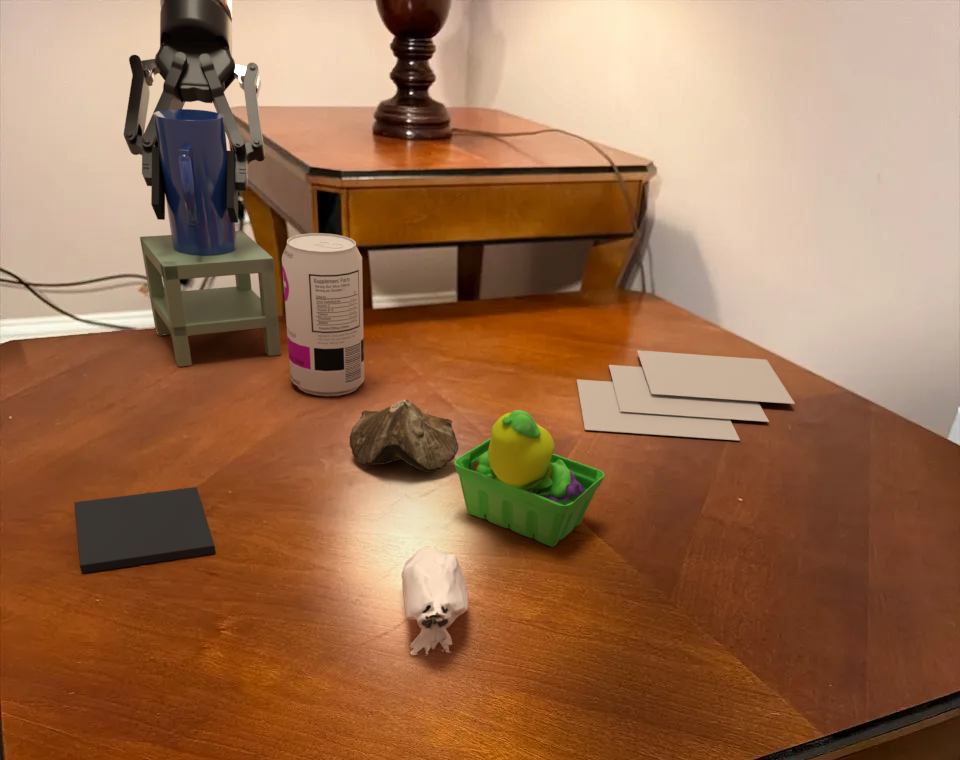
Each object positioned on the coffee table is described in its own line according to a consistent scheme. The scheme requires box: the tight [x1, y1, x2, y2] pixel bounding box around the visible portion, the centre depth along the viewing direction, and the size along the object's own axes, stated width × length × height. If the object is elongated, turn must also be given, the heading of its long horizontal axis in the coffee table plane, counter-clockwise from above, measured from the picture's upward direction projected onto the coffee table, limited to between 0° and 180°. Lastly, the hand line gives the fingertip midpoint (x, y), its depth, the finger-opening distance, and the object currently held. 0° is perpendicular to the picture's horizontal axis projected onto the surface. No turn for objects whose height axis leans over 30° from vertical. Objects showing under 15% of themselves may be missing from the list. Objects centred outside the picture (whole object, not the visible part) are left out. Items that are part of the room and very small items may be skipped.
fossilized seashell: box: [349, 398, 459, 473], centre depth 83 cm, size 8×7×10 cm
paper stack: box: [576, 349, 796, 441], centre depth 101 cm, size 23×25×1 cm
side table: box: [139, 230, 282, 368], centre depth 102 cm, size 12×12×11 cm
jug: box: [154, 108, 237, 256], centre depth 93 cm, size 10×7×13 cm
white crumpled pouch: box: [401, 545, 469, 656], centre depth 63 cm, size 5×7×10 cm
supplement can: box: [281, 232, 365, 397], centre depth 93 cm, size 8×8×15 cm
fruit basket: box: [453, 409, 606, 548], centre depth 73 cm, size 11×9×11 cm
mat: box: [73, 486, 216, 574], centre depth 71 cm, size 10×10×1 cm
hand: (195, 213), depth 93 cm, fingers closed on jug, 7 cm apart
